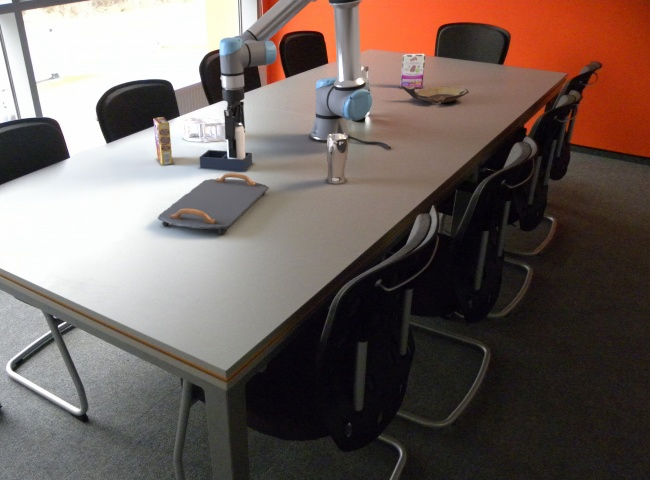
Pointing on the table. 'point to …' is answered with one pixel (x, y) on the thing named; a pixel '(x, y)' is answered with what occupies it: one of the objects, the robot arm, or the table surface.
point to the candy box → (163, 140)
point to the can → (239, 142)
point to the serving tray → (214, 203)
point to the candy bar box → (412, 70)
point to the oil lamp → (437, 93)
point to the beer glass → (336, 157)
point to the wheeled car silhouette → (204, 129)
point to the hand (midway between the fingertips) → (236, 154)
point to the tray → (224, 161)
